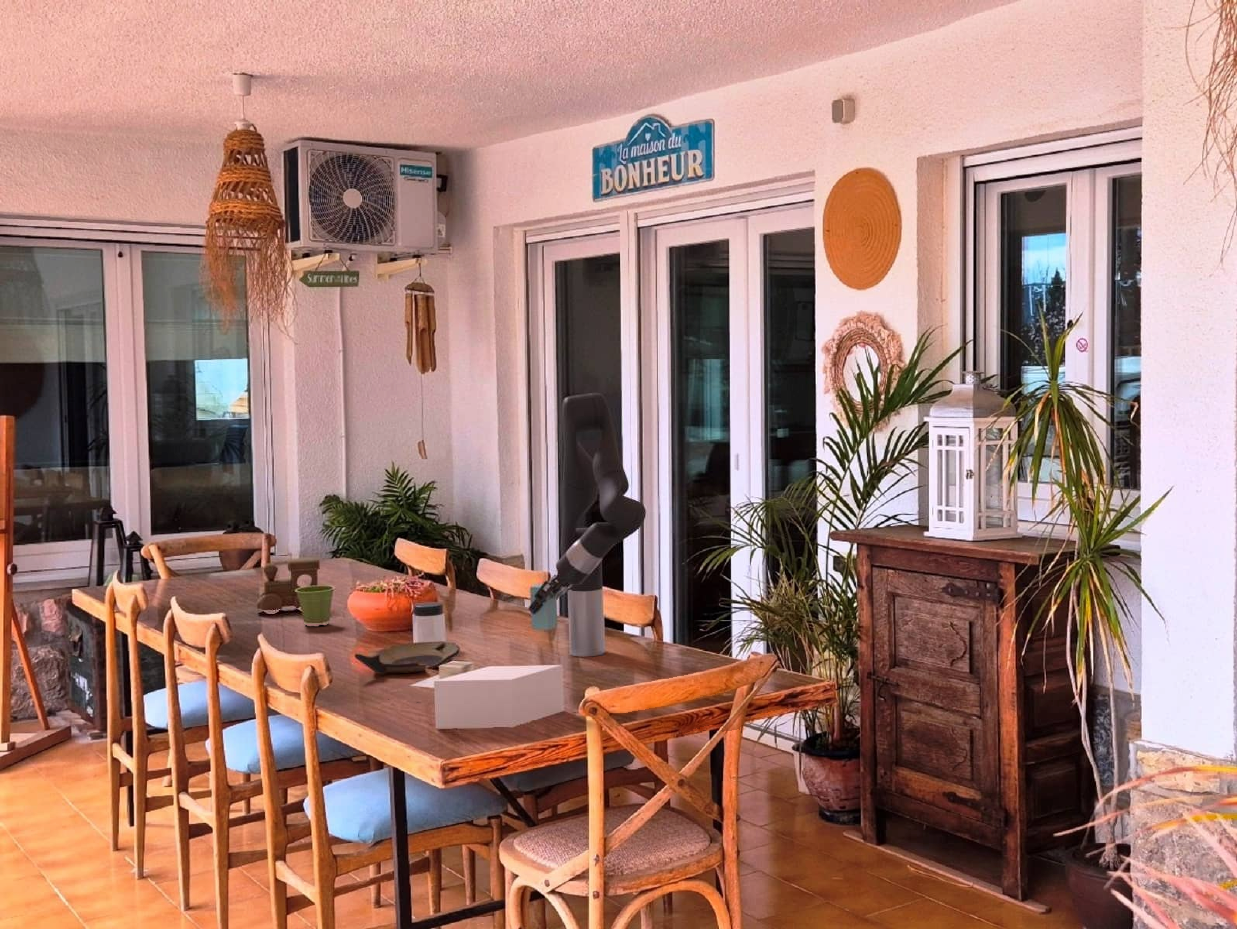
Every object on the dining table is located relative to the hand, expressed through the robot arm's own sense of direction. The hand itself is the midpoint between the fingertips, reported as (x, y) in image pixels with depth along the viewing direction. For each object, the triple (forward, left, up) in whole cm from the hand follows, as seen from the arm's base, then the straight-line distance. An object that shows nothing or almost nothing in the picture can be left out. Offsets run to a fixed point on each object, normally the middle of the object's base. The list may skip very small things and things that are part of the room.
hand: (536, 609), depth 312 cm
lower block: (+8, -18, -17) cm, 26 cm away
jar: (-27, -50, -18) cm, 60 cm away
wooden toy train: (-61, -128, -18) cm, 143 cm away
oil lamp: (0, -39, -18) cm, 43 cm away
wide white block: (+32, +9, -18) cm, 38 cm away
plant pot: (-44, -103, -18) cm, 114 cm away
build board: (+8, -18, -18) cm, 27 cm away
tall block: (0, +2, -4) cm, 5 cm away
